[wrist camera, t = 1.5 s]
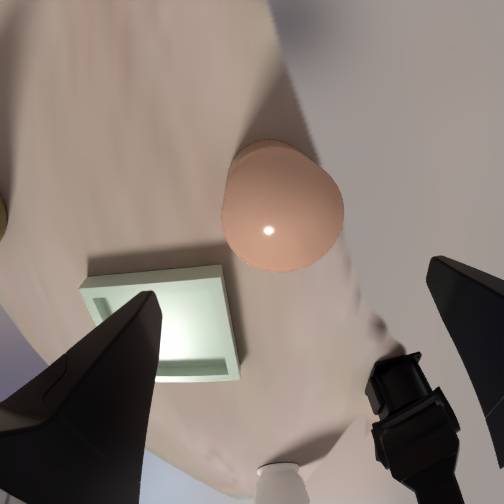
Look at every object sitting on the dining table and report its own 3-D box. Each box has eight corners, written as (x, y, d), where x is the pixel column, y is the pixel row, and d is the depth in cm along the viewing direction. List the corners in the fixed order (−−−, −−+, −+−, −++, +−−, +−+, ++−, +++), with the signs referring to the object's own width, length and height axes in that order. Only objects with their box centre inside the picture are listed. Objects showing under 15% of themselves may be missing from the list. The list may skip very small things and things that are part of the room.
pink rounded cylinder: (308, 137, 18) (344, 153, 11) (310, 215, 20) (341, 265, 14) (222, 144, 18) (213, 163, 11) (232, 223, 20) (229, 278, 14)
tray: (221, 264, 22) (220, 277, 20) (240, 365, 27) (240, 379, 26) (86, 276, 22) (78, 288, 20) (131, 368, 27) (127, 380, 26)
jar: (268, 458, 41) (274, 530, 28) (314, 460, 44) (325, 525, 30) (242, 473, 45) (245, 534, 32) (285, 476, 48) (291, 532, 35)
